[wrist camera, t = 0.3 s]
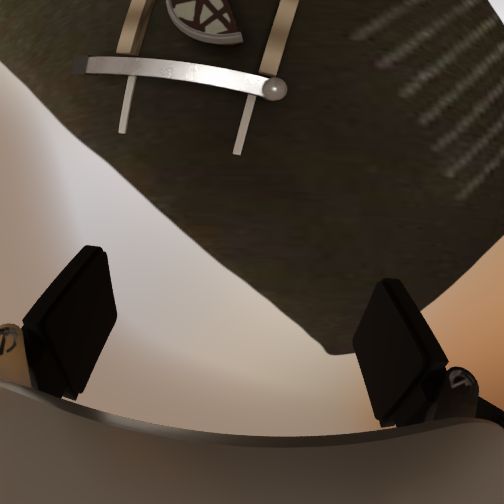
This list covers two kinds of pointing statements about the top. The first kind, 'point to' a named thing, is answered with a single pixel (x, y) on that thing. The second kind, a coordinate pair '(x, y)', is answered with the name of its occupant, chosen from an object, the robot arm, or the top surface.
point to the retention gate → (182, 74)
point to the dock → (272, 55)
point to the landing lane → (242, 127)
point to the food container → (206, 20)
